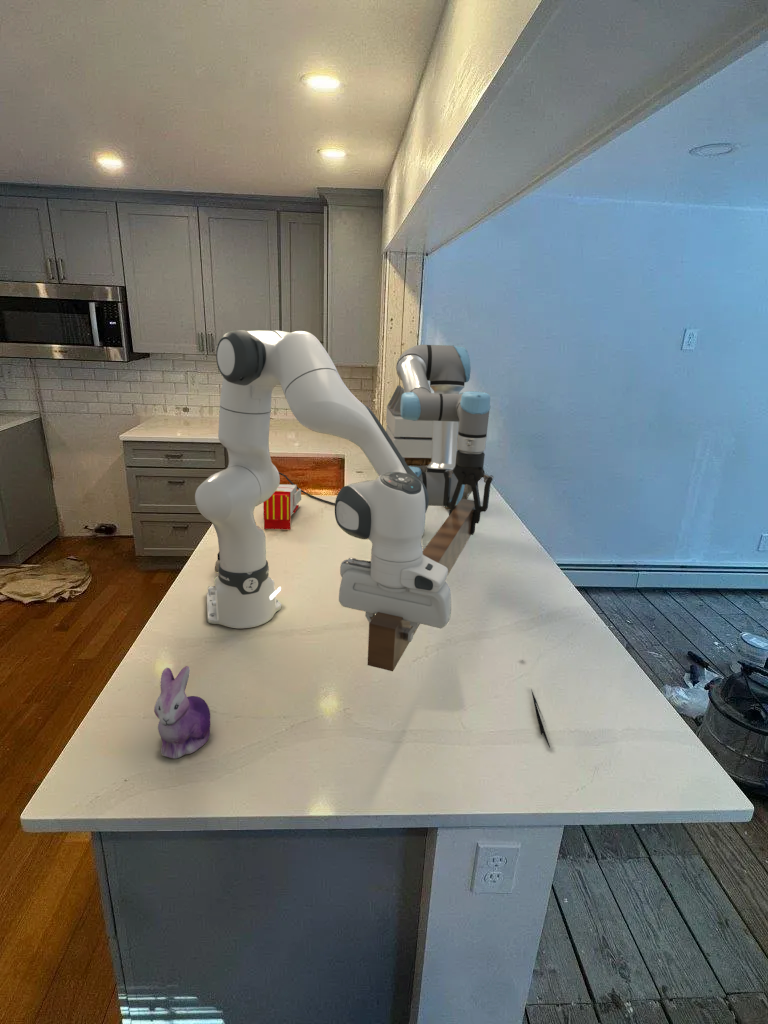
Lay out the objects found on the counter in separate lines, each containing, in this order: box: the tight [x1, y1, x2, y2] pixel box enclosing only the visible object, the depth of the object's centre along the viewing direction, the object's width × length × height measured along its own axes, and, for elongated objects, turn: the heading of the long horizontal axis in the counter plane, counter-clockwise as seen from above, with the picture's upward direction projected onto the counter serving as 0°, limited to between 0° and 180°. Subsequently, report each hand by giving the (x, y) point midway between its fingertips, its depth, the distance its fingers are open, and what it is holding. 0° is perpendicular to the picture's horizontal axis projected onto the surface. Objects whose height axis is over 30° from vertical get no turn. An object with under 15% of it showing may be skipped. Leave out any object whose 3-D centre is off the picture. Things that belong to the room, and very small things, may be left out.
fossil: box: [443, 484, 473, 510], centre depth 233 cm, size 22×10×15 cm
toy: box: [262, 483, 302, 531], centre depth 210 cm, size 12×13×30 cm
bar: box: [366, 499, 475, 672], centre depth 130 cm, size 75×5×8 cm, turn 161°
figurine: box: [153, 665, 211, 759], centre depth 99 cm, size 9×10×15 cm
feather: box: [521, 660, 551, 748], centre depth 116 cm, size 2×28×2 cm
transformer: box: [385, 384, 459, 467], centre depth 268 cm, size 34×33×41 cm
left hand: (392, 635), depth 103 cm, fingers closed on bar, 5 cm apart
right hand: (462, 531), depth 160 cm, fingers closed on bar, 5 cm apart
